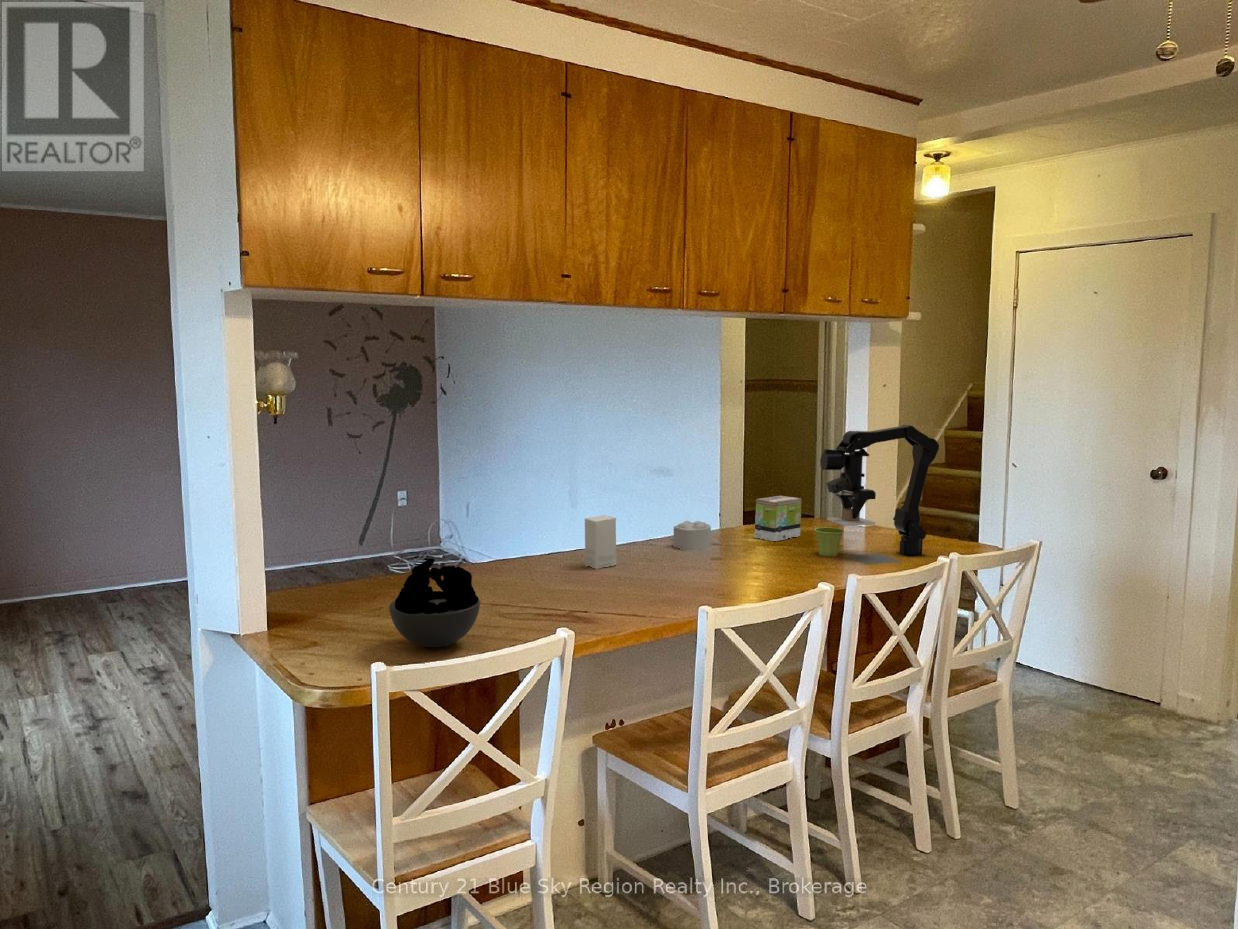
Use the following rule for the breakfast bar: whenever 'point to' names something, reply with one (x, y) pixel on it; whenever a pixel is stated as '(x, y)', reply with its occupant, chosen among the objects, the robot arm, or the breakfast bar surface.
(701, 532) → the lumpy-topped squat cylinder
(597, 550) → the skincare box
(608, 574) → the breakfast bar surface
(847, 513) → the lid
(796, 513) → the tea box
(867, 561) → the mat
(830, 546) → the plant pot
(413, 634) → the coal bowl
